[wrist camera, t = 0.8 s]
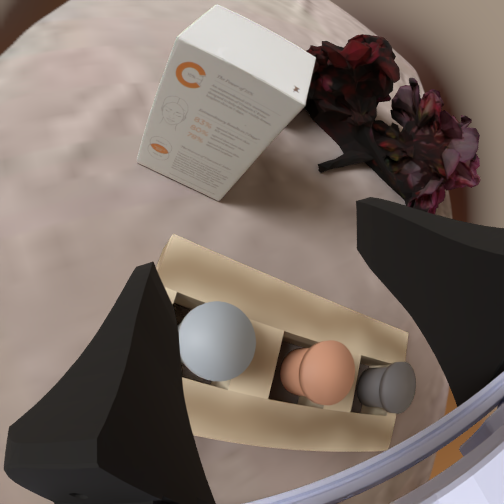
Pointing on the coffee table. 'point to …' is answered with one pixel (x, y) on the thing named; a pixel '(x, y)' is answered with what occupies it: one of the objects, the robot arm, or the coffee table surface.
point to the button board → (266, 355)
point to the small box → (223, 101)
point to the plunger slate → (216, 341)
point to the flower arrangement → (389, 137)
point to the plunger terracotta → (319, 372)
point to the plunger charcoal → (388, 387)
